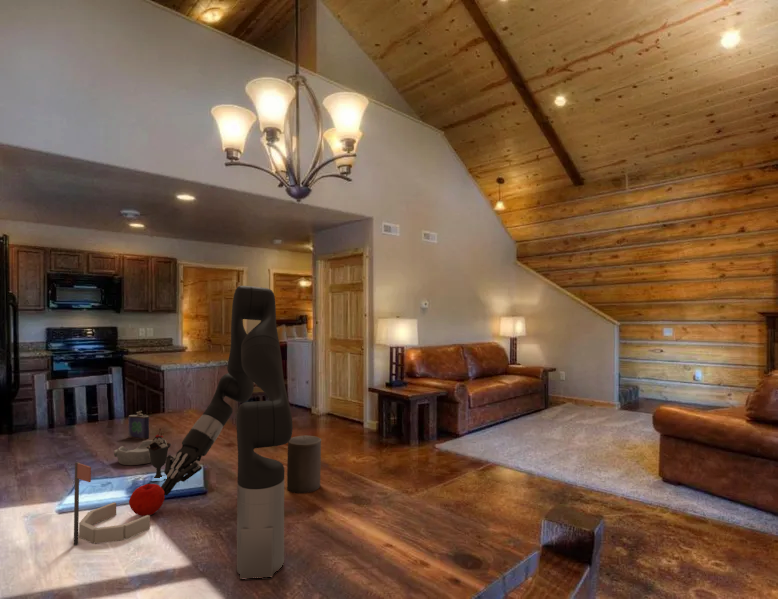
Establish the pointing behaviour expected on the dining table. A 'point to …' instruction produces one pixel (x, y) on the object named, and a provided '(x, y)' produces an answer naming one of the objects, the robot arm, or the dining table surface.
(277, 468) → the robot arm
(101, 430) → the dining table surface
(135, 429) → the flask
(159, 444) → the sundae
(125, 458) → the dish
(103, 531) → the cup
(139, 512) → the apple
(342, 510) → the dining table surface
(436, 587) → the dining table surface
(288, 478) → the pillar candle
